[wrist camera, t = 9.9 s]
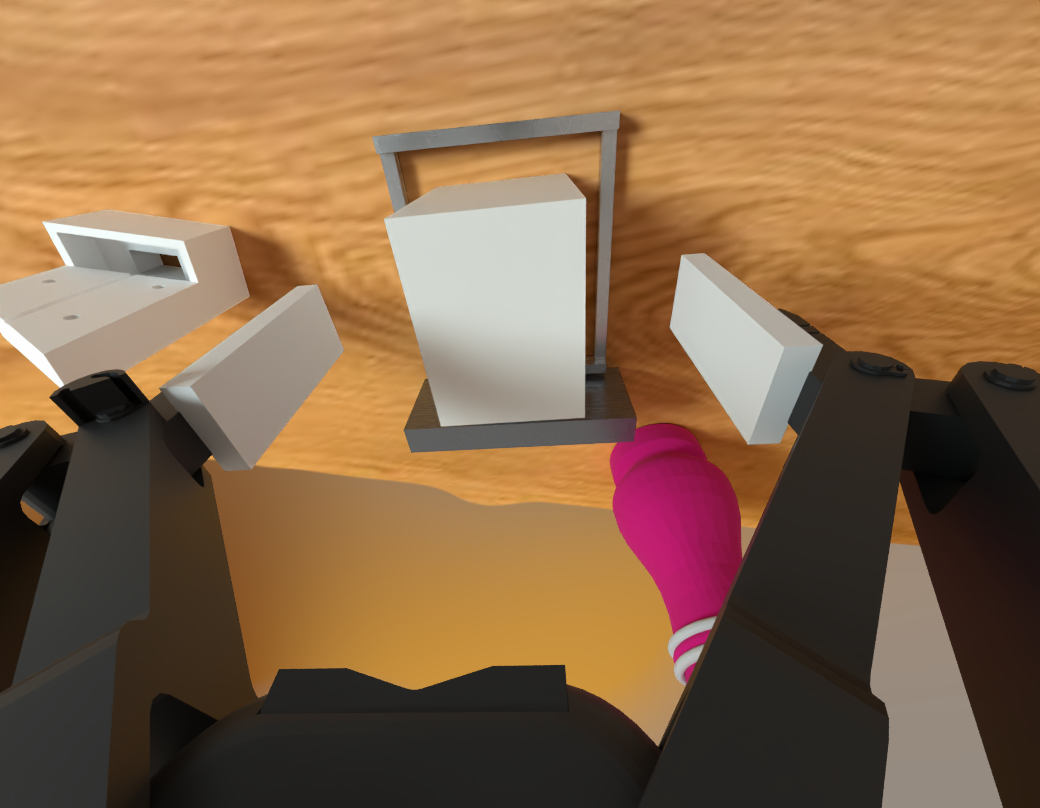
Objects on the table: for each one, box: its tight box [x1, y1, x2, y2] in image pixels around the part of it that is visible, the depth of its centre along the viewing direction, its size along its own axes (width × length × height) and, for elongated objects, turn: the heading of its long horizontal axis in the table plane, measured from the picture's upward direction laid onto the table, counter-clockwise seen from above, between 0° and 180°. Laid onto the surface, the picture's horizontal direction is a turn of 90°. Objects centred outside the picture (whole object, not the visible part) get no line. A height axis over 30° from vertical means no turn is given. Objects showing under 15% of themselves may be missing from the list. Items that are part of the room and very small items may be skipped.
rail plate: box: [373, 110, 637, 453], centre depth 18 cm, size 14×12×5 cm
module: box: [384, 173, 586, 426], centre depth 17 cm, size 8×6×8 cm
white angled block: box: [0, 209, 250, 388], centre depth 17 cm, size 4×10×9 cm, turn 83°
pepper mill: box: [610, 423, 742, 686], centre depth 19 cm, size 7×7×20 cm
